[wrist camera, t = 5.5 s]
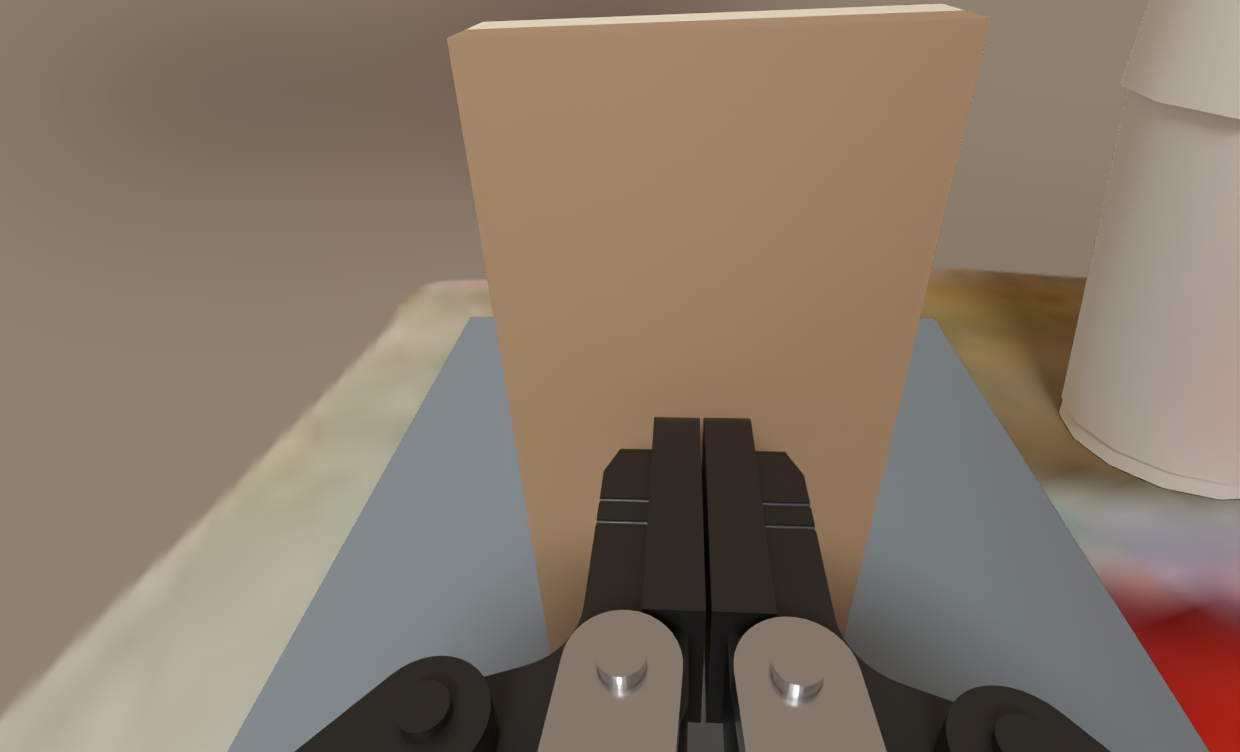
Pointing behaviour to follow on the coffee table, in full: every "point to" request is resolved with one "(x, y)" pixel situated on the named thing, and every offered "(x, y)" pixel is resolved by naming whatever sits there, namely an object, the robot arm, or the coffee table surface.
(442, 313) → the coffee table surface
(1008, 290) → the coffee table surface
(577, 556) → the tile
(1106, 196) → the foam cup
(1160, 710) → the mat
